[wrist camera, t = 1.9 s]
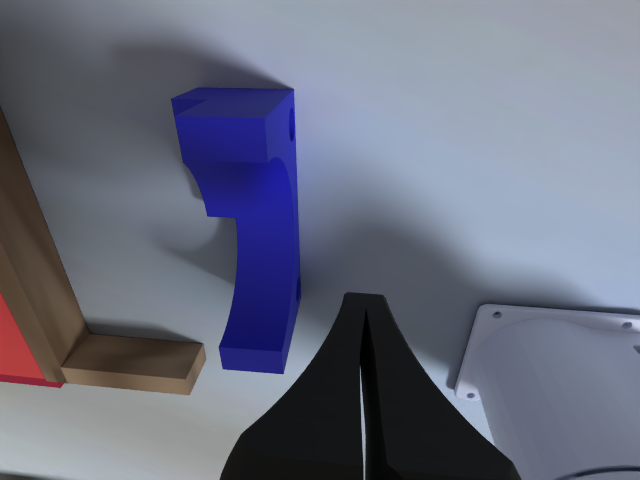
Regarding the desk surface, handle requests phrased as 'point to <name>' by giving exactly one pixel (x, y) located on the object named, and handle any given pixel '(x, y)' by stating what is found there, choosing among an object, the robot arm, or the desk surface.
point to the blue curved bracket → (250, 210)
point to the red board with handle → (17, 354)
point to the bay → (71, 304)
